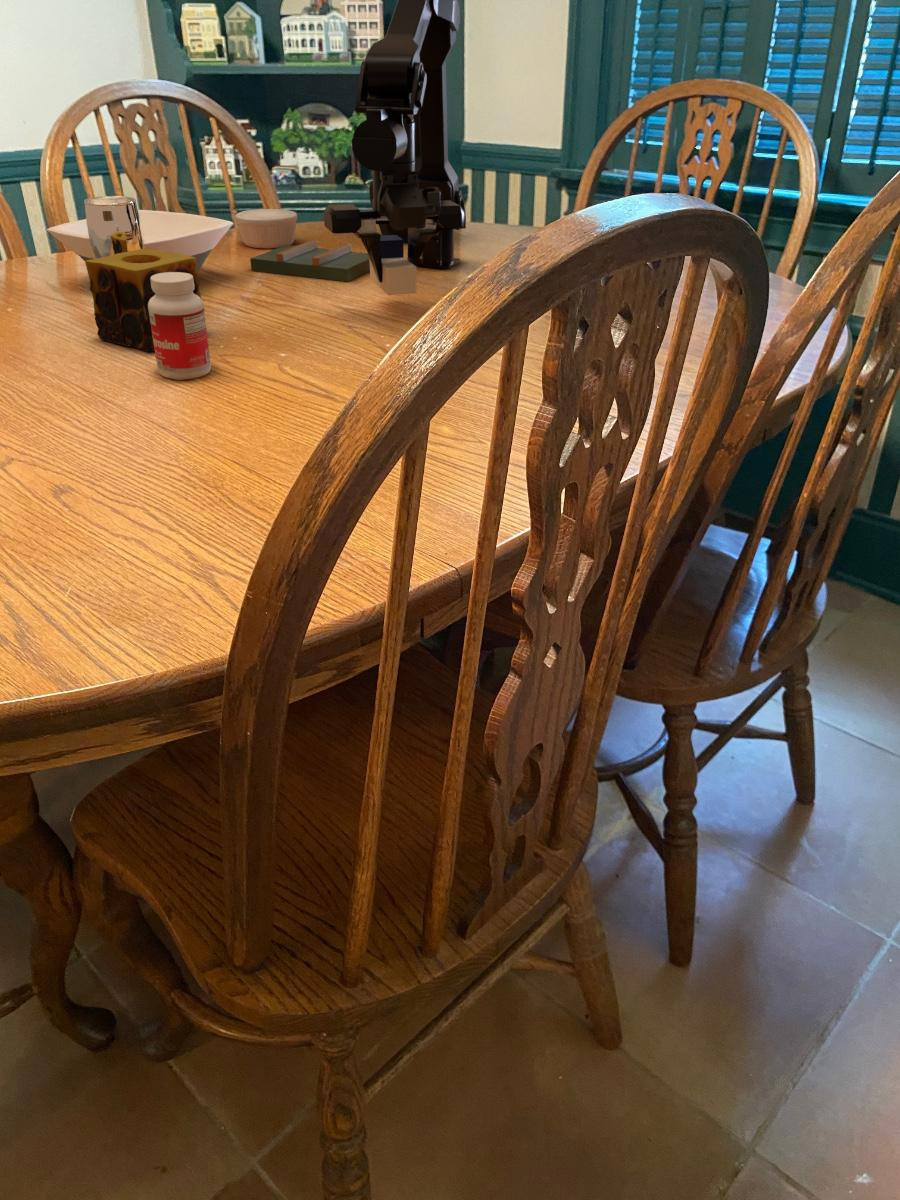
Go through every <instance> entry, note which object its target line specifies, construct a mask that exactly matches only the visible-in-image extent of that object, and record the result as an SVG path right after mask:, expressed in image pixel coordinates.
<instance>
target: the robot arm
mask: <svg viewBox="0 0 900 1200" xmlns="http://www.w3.org/2000/svg"><path fill="white" fill-rule="evenodd" d="M460 23H461V9H460V3H459V1H458V0H396V5H395V7H394V11H393V13H392V16H391V19H390V22H389V26H388V28H387V31H386V34H385V36H384V38H383V37H382V38H381V39H379V40H377V41H375V42H374V43H372V45H370V48H369V49H368V51H367V52H366V55H365V57H364V60H362V61H361V64H360V70H359V76H358V77H359V78H358V83H357V84H358V85H357V91H356V100H355V107H354V111H355V113H357V114H366V115H365V117H366V119H365V120H364V121H362V122H360V123H359V125H358V126H357V127H356V128H355V130H354V132H353V135H352V139H351V149H352V154H353V155H354V158H355V159H356V161H357V163H359V164H360V166H362V167H363V168H365V169H367V170H370V175H371V176H372V181H373V199H372V205H371V208H372V207H373V208H374V210H373V208H372V209H363V210H360V209H359V208H358V207H357V206H356V205H354V204H353V203H345V204H344V203H341V204H327V205H326V207H325V208H324V211H323V224H324V227H325V228H326V229H327V230H328V231H330V232H331V234H336V235H337V234H339V235H341V234H353V235H354V236H356V237H357V238H358V239H360V240H361V242H362V244H363V246H364V248H365V250H366V253H368V255H369V258H370V260H371V263H372V266H373V268H374V271H375V274H376V277H377V279H378V281H379V282H380V283H382V277H383V270H382V260H381V251H380V239H381V236H382V233H379V232H378V231H377V225H378V224H390V226H391V227H392V228H393V229H396V230H403V229H404V228H408V242H407V258H406V259H407V260H408V261H409V262H411V263H412V264H413V265H414V266H416V267H417V268H418V267H428V268H437V269H445V270H447V269H450V268H452V267H454V266H455V265H458V264H459V263H461V262H462V261H461V260H462V259H461V258H459V257H458V258H456V257H455V231H460V230H463V229H466V228H467V212H466V210H467V209H466V201H465V199H464V198H463V194H462V193H463V192H462V190H459V177H458V174H457V173H456V171H455V169H454V168H453V166H452V165H451V163H450V161H449V144H448V143H449V141H448V140H449V139H448V134H449V133H448V94H447V91H448V90H447V89H448V87H447V59H448V56H449V54H450V53H451V51H452V49H453V46H454V45H455V43H456V40H457V32H458V31H459V30H460V25H461V24H460ZM409 103H410V106H409ZM418 108H419V128H420V153H421V168H420V170H419V172H418V174H417V171H415V122H414V118H413V115H415V114H417V112H418ZM385 216H386V217H385Z"/></svg>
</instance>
